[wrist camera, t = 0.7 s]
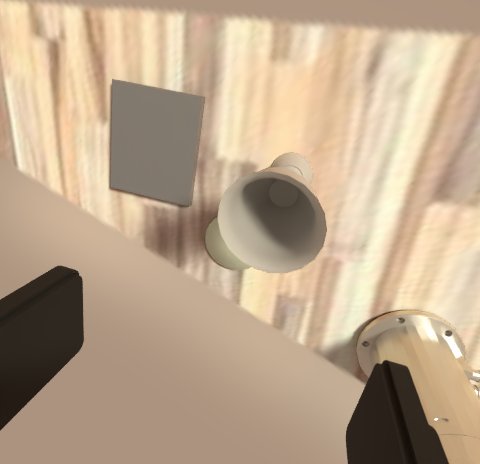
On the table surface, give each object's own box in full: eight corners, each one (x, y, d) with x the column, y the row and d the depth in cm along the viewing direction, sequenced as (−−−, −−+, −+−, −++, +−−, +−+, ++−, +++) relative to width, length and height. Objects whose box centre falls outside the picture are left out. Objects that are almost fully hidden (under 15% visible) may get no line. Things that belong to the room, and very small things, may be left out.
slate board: (204, 97, 36) (202, 96, 35) (191, 204, 41) (188, 206, 40) (117, 79, 38) (112, 79, 37) (114, 185, 43) (110, 187, 42)
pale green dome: (272, 219, 40) (271, 221, 39) (259, 273, 43) (258, 276, 42) (211, 204, 41) (209, 206, 40) (203, 258, 44) (201, 261, 44)
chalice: (335, 171, 36) (351, 222, 20) (296, 215, 39) (281, 292, 22) (284, 130, 36) (257, 147, 19) (249, 178, 38) (198, 227, 22)
